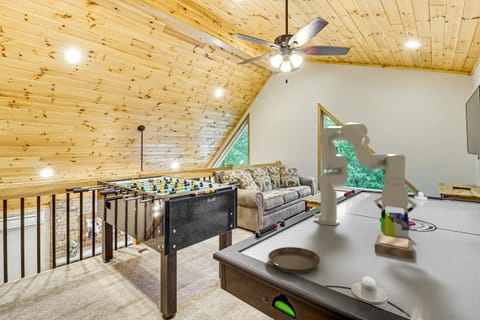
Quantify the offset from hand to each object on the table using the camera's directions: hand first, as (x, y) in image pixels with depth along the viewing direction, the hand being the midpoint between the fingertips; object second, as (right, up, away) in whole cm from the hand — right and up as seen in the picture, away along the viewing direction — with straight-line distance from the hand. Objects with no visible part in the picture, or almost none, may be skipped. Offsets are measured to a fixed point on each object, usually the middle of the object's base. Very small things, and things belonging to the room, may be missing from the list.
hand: (394, 219), depth 112 cm
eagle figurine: (+1, -3, -2) cm, 3 cm away
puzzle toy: (+14, -13, +23) cm, 30 cm away
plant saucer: (-49, -16, -12) cm, 52 cm away
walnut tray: (0, -14, +1) cm, 14 cm away
